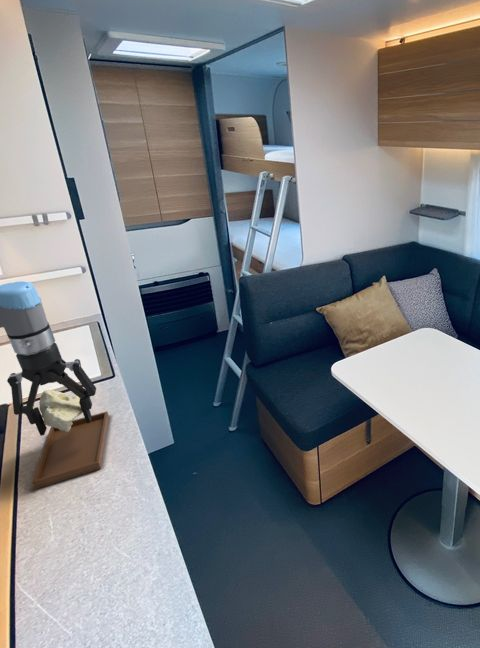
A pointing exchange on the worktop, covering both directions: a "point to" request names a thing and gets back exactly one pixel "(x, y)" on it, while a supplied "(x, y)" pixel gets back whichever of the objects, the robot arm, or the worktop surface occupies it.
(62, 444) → the holder
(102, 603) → the worktop surface
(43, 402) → the cheese
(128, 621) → the worktop surface
